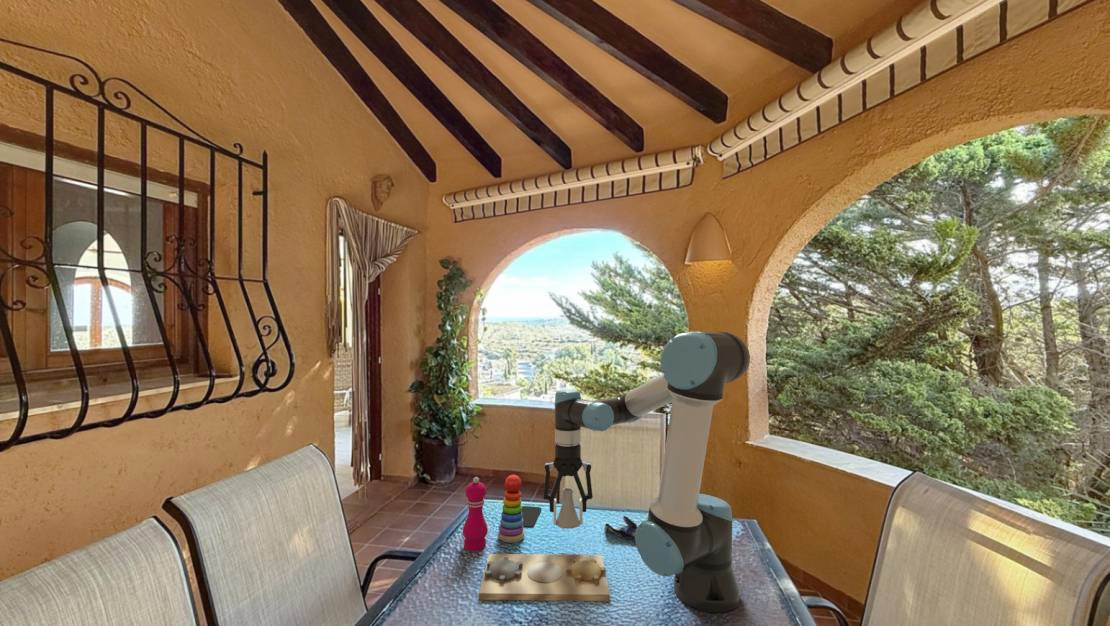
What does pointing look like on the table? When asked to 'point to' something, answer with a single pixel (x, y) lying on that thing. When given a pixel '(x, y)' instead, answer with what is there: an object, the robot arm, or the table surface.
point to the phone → (530, 515)
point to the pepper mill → (475, 517)
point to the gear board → (544, 578)
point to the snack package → (623, 529)
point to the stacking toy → (511, 512)
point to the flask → (567, 511)
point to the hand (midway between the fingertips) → (568, 522)
